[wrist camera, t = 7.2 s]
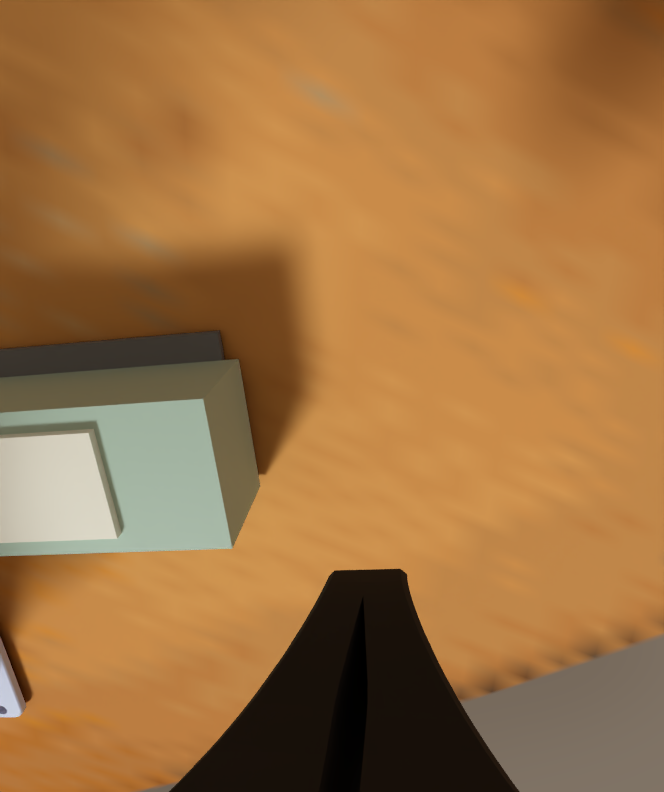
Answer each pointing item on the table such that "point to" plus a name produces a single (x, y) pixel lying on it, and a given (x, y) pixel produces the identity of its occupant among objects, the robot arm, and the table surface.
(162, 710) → the table surface
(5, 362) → the mat
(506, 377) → the table surface
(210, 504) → the sage block
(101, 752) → the table surface
